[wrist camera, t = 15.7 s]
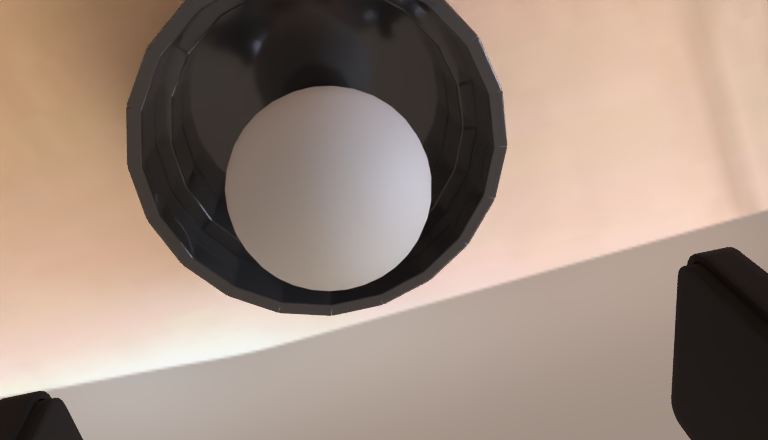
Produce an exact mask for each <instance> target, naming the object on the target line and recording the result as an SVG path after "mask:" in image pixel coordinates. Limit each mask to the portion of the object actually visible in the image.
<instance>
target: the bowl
mask: <svg viewBox="0 0 768 440" xmlns="http://www.w3.org/2000/svg"><path fill="white" fill-rule="evenodd" d="M317 86H338V87H345V88H352V89H356V90H359V91H362V92H364V93H367V94H370V95H373V96H375V97H377V98H378V99H380V100H382V101H383V102H385V103H387V104H388V105H390V106H391V107H392V108H394V109H395V110H396V111H397V112H398V113H399V114H400V115H401V116H402V117H403V118H405V120H406V121H407V122H408V124H409V125H410V126H411V128H412V129H413V131H414V132H415V133H416V135H417V136H418V138H419V140H420V142H421V144H422V147H423V149H424V151H425V153H426V156H427V158H428V163H429V168H430V173H431V204H430V208H429V213H428V218H427V220H426V223H425V225H424V227H423V230H422V232H421V234H420V236H419V239H418V241H417V242H416V244H415V245H414V247H413V248H412V250H411V251H410V252H409V254H408V255H407V256H406V257H405V258H404V259H403V260H402V261H401V262H400V263H399V264H398V265H397V266H396V267H395V268H394V269H392V270H391V271H389V272H388V273H386V274H385V275H384V276H382V277H381V278H378V279H376V280H374V281H372V282H370V283H367V284H365V285H362V286H358V287H355V288H351V289H347V290H336V291H321V290H310V289H306V288H302V287H298V286H295V285H292V284H290V283H287V282H285V281H283V280H281V279H279V278H277V277H275V276H274V275H273V274H271V273H270V272H268V271H267V270H265V269H264V268H263V267H262V266H261V265H260V264H259V263H258V262H257V261H256V260H255V259H254V258H253V257H252V256H251V255H250V254H249V253H248V251H247V250H246V249H245V247H244V246H243V244H242V243H241V241H240V239H239V238H238V236H237V235H236V232H235V230H234V227H233V224H232V222H231V219H230V216H229V213H228V209H227V202H226V195H225V183H226V171H227V167H228V164H229V160H230V157H231V154H232V150H233V147H234V145H235V143H236V141H237V139H238V138H239V136H240V134H241V132H242V130H243V129H244V128H245V127H246V125H247V124H248V123H249V122H250V121H251V120H252V119H253V117H254V116H255V115H256V114H257V113H258V112H260V111H261V110H262V109H264V108H265V107H266V106H268V105H269V104H270V103H272V102H273V101H275V100H277V99H279V98H281V97H283V96H285V95H287V94H289V93H292V92H294V91H298V90H302V89H306V88H310V87H317ZM126 121H127V165H128V170H129V172H130V175H131V178H132V180H133V183H134V186H135V189H136V191H137V194H138V197H139V199H140V202H141V205H142V208H143V210H144V213H145V216H146V218H147V220H148V222H149V223H150V224H151V226H152V227H153V228H154V230H155V231H156V232H157V233H158V235H159V236H160V237H161V238H162V240H163V241H164V242H165V243H166V245H167V246H168V247H169V248H170V250H171V251H172V252H173V254H174V255H175V256H176V257H177V259H178V260H179V261H180V262H181V263H182V264H183V265H184V266H185V267H187V268H188V269H189V270H191V271H192V272H194V273H195V274H197V275H198V276H200V277H201V278H202V279H204V280H205V281H207V282H208V283H210V284H211V285H213V286H214V287H216V288H217V289H218V290H220V291H221V292H223V293H224V294H226V295H228V296H230V297H233V298H236V299H239V300H242V301H245V302H248V303H251V304H254V305H257V306H260V307H263V308H266V309H269V310H272V311H275V312H279V313H289V314H308V315H327V316H331V315H338V314H342V313H347V312H351V311H356V310H361V309H365V308H370V307H375V306H379V305H383V304H386V303H388V302H389V301H391V300H393V299H395V298H397V297H399V296H401V295H403V294H405V293H407V292H409V291H411V290H413V289H414V288H416V287H418V286H420V285H422V284H424V283H426V282H428V281H429V280H431V279H432V278H433V277H434V276H435V275H436V274H437V273H438V272H440V271H441V270H442V269H443V268H444V267H445V266H446V265H447V264H448V263H449V262H450V261H451V260H452V259H453V258H454V257H456V256H457V255H458V254H459V253H460V252H461V251H462V250H463V249H464V248H465V247H466V246H467V245H468V244H469V242H470V241H471V239H472V237H473V236H474V234H475V232H476V230H477V229H478V227H479V225H480V224H481V222H482V220H483V219H484V217H485V215H486V213H487V212H488V210H489V208H490V207H491V205H492V203H493V201H494V198H495V196H496V192H497V188H498V184H499V179H500V175H501V171H502V166H503V162H504V158H505V153H506V149H507V137H506V125H505V114H504V103H503V92H502V88H501V86H500V84H499V82H498V79H497V77H496V75H495V73H494V70H493V68H492V66H491V63H490V61H489V59H488V57H487V54H486V52H485V50H484V48H483V45H482V43H481V41H480V39H479V37H478V36H477V34H476V33H475V32H474V31H473V30H472V29H471V28H470V27H469V26H468V25H467V23H466V22H465V21H464V20H463V19H462V18H461V17H460V16H459V15H458V14H457V13H456V12H455V11H454V9H453V8H452V7H451V6H450V5H449V4H448V3H447V2H446V1H445V0H185V1H184V3H183V4H182V5H181V6H180V7H179V9H178V10H177V11H176V12H175V14H174V15H173V16H172V17H171V18H170V20H169V21H168V22H167V23H166V25H165V26H164V27H163V28H162V29H161V31H160V32H159V33H158V34H157V35H156V37H155V38H154V39H153V40H152V42H151V43H150V44H149V45H148V48H147V49H146V51H145V54H144V57H143V59H142V62H141V65H140V68H139V71H138V74H137V77H136V80H135V82H134V85H133V88H132V91H131V94H130V97H129V100H128V103H127V108H126Z"/></svg>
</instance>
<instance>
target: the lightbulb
mask: <svg viewBox="0 0 768 440" xmlns="http://www.w3.org/2000/svg"><path fill="white" fill-rule="evenodd" d="M225 195H226V202H227V209H228V213H229V216H230V219H231V222H232V224H233V227H234V230H235V232H236V235H237V236H238V238H239V239H240V241H241V243H242V244H243V246H244V247H245V249H246V250H247V251H248V253H249V254H250V255H251V256H252V257H253V258H254V259H255V260H256V261H257V262H258V263H259V264H260V265H261V266H262V267H263V268H264V269H265V270H267V271H268V272H270V273H271V274H273V275H274V276H275V277H277V278H279V279H281V280H283V281H285V282H287V283H290V284H292V285H295V286H298V287H302V288H306V289H310V290H321V291H336V290H347V289H351V288H355V287H358V286H362V285H365V284H367V283H370V282H372V281H374V280H376V279H378V278H381V277H382V276H384V275H385V274H386V273H388V272H389V271H391V270H392V269H394V268H395V267H396V266H397V265H398V264H399V263H400V262H401V261H402V260H403V259H404V258H405V257H406V256H407V255H408V254H409V252H410V251H411V250H412V248H413V247H414V245H415V244H416V242H417V241H418V239H419V236H420V234H421V232H422V230H423V227H424V225H425V223H426V220H427V218H428V213H429V208H430V204H431V173H430V168H429V163H428V158H427V156H426V153H425V151H424V149H423V147H422V144H421V142H420V140H419V138H418V136H417V135H416V133H415V132H414V131H413V129H412V128H411V126H410V125H409V124H408V122H407V121H406V120H405V118H403V117H402V116H401V115H400V114H399V113H398V112H397V111H396V110H395V109H394V108H392V107H391V106H390V105H388V104H387V103H385V102H383V101H382V100H380V99H378V98H377V97H375V96H373V95H370V94H367V93H364V92H362V91H359V90H356V89H352V88H345V87H338V86H317V87H310V88H306V89H302V90H298V91H294V92H292V93H289V94H287V95H285V96H283V97H281V98H279V99H277V100H275V101H273V102H272V103H270V104H269V105H268V106H266V107H265V108H264V109H262V110H261V111H260V112H258V113H257V114H256V115H255V116H254V117H253V119H252V120H251V121H250V122H249V123H248V124H247V125H246V127H245V128H244V129H243V130H242V132H241V134H240V136H239V138H238V139H237V141H236V143H235V145H234V147H233V150H232V154H231V157H230V160H229V164H228V167H227V171H226V183H225Z"/></svg>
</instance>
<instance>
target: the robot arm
mask: <svg viewBox="0 0 768 440" xmlns="http://www.w3.org/2000/svg"><path fill="white" fill-rule="evenodd" d="M677 285H678V286H677V302H676V321H675V341H674V358H673V377H672V395H671V399H672V408H673V411H674V414H675V416H676V419H677V421H678V422H679V424H680V425H681V427H682V428H683V430H684V431H685V432H686V434H687V435H688V436H689V438H690V439H691V440H768V273H767V272H765V271H764V270H763V269H762V268H760V267H759V266H758V265H756V264H755V263H754V262H752V261H751V260H750V259H749V258H747V257H746V256H745V255H743V254H742V253H741V252H740V251H739V250H737V249H735V248H732V247H726V248H722V249H717V250H712V251H707V252H702V253H697V254H694V255H692V256H690V258H689V260H688V264H687V266H683V267H681V268H680V270H679V273H678V284H677ZM0 440H83V439H82V437H81V435H80V433H79V431H78V429H77V427H76V425H75V423H74V421H73V419H72V417H71V415H70V413H69V411H68V409H67V408H66V406H65V404H64V403H63V401H62V400H61V399H59V398H51V397H50V395H49V394H47V393H46V392H45V391H37V392H32V393H27V394H23V395H18V396H13V397H8V398H3V399H1V400H0Z"/></svg>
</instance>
